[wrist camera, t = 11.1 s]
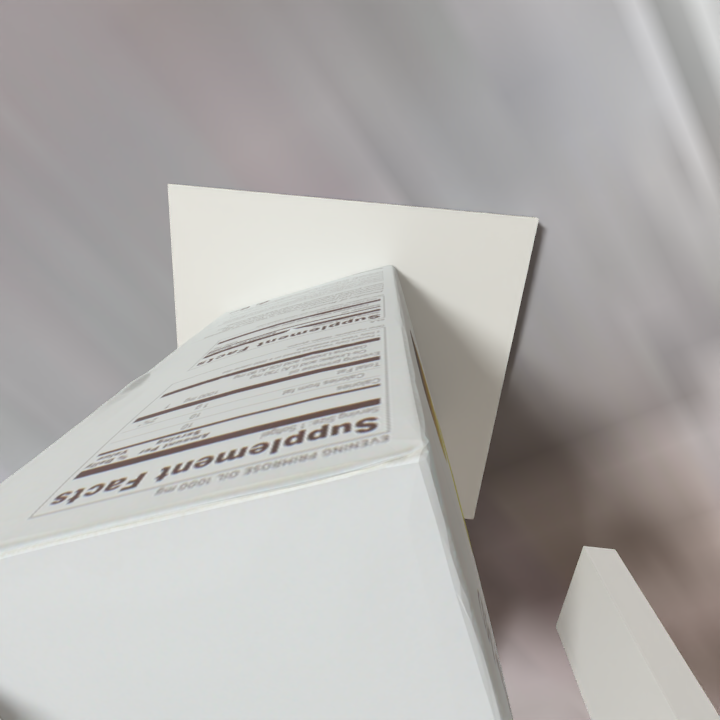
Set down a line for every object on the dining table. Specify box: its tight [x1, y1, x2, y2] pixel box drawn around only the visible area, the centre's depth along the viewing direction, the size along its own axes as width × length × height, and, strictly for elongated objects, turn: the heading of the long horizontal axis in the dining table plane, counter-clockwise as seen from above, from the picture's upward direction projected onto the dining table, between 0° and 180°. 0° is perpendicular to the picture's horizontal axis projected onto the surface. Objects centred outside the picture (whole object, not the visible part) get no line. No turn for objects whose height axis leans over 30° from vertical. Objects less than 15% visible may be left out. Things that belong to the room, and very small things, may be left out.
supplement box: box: [0, 265, 513, 720], centre depth 16 cm, size 10×9×17 cm
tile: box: [168, 184, 539, 519], centre depth 24 cm, size 17×17×1 cm
